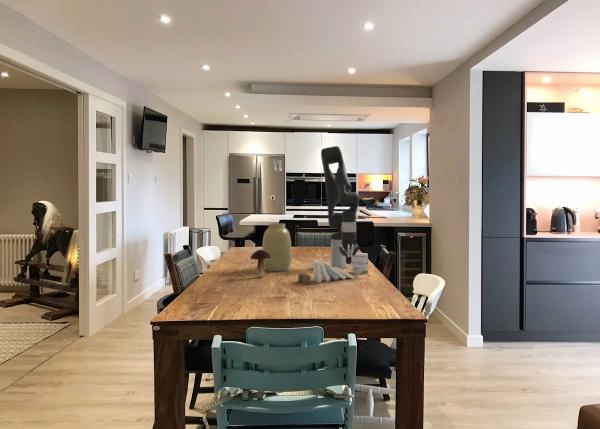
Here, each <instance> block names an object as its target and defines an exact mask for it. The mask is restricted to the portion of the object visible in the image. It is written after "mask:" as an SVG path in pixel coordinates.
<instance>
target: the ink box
mask: <svg viewBox="0 0 600 429" xmlns="http://www.w3.org/2000/svg"><path fill="white" fill-rule="evenodd" d="M351 267H352V269H351V270H352V271H351V272H352V274H353V275H354V274H355V275H356V274H357V275H358V274H362V275H363V274H367V275H368V274H369V255H368V253H366V252H365V253H363V252H361V253H360V252H359V253H358V252H357V253H356V254H355V256H352V263H351Z"/></svg>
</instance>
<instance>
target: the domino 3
mask: <svg viewBox="0 0 600 429" xmlns="http://www.w3.org/2000/svg"><path fill="white" fill-rule="evenodd" d="M328 265H329V264H327V263H324V266H325V269H326V271H327V274H328V276H329V278H331V279H333V280H335V281H336V280H337V279H338V278H337V276H336V275H335V274H334V273H333V272H332V270H331V269H330V268H329V267H328Z"/></svg>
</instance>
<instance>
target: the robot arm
mask: <svg viewBox="0 0 600 429" xmlns="http://www.w3.org/2000/svg"><path fill="white" fill-rule="evenodd" d="M320 154H321V155H320V157H321V162H322V169H323V174H324V185H325V187H324V188H325V194H326V195H325V196H326V202H327V216H328V217H327V218H328V219H327V220H328V225H329V227H330V228H333V229H340V230H339V231H337V232H335V233H332V234H331V235H330V266H332V267H337V268H340V269H342V270H344V269H346V268H347V265H352V256H355V254H356V253H358V251H359V250H360V248H361V246H360V245H358V244H357V212H358V207H359V204H360V195H359V193H358V192H355V191H351V189H352V184H351V182H350V179H349V177H348V174H347V171H346V170H347V168H346V165H345V161H344V157H343V156H344V155H343V152H342V150H341V148H340V147H339V146H338V145H335V146H330V147H325V148H322V149H321V150H320ZM336 163H338V164H337V165H338V167H337V170H336V173H335V174H334V173H333V172H332V170H331V168H330V165H334V164H336ZM338 203H339V204H340V205H341V206H343V207H345V206H346V207H348V206H349V209H346V210H343V211H342V212H335V208H336V205H337V204H338Z"/></svg>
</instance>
